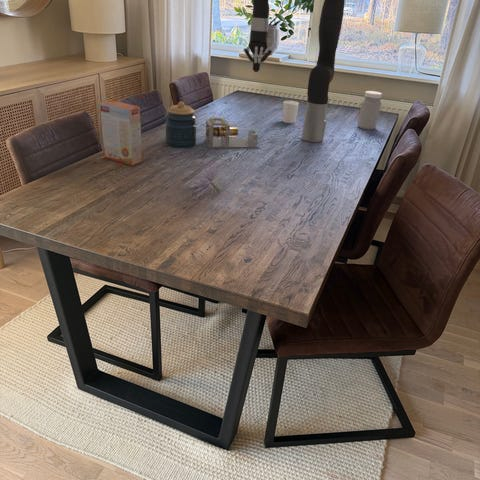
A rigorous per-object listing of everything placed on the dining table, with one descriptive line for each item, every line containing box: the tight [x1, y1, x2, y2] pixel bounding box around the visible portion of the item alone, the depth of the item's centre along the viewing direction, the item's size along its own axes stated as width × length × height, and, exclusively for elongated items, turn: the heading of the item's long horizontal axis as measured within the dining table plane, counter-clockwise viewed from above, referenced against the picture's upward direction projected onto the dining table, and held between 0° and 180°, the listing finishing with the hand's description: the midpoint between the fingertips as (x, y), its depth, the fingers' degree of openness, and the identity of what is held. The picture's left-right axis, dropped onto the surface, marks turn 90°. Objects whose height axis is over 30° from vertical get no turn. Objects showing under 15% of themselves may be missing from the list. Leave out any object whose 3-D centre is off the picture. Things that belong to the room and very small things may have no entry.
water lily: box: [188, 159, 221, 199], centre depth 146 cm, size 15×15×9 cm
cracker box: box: [99, 100, 143, 166], centre depth 161 cm, size 14×6×21 cm, turn 59°
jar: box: [356, 90, 383, 131], centre depth 228 cm, size 10×10×18 cm
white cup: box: [282, 100, 300, 124], centre depth 229 cm, size 8×8×10 cm
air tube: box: [205, 126, 239, 138], centre depth 189 cm, size 13×4×4 cm, turn 103°
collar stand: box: [204, 117, 260, 149], centre depth 190 cm, size 22×11×10 cm, turn 103°
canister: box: [164, 100, 197, 149], centre depth 184 cm, size 13×13×18 cm
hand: (255, 71), depth 199 cm, fingers closed
